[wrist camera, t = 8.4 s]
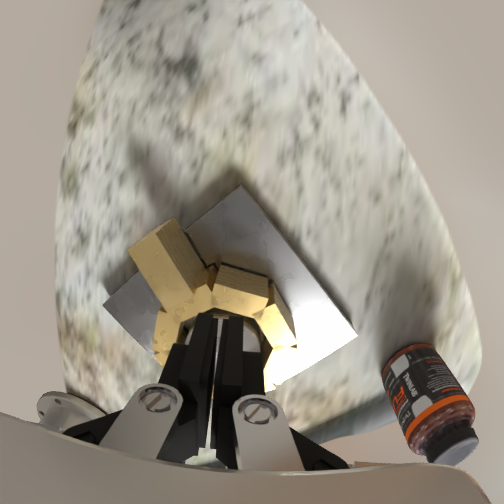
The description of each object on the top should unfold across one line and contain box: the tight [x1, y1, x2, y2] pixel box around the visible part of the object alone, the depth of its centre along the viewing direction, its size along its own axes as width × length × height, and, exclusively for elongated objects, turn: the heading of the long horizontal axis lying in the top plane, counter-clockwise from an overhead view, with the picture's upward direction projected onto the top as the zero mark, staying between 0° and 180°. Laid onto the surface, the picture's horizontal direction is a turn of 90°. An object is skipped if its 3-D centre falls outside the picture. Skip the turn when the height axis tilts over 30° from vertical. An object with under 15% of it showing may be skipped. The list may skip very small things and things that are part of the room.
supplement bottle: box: [382, 343, 479, 466], centre depth 20 cm, size 6×6×11 cm
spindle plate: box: [103, 184, 357, 408], centre depth 21 cm, size 14×16×5 cm
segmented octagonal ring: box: [127, 217, 298, 398], centre depth 20 cm, size 13×9×4 cm
